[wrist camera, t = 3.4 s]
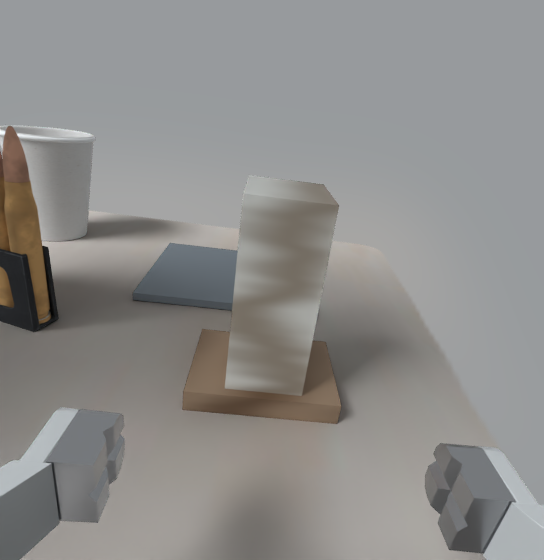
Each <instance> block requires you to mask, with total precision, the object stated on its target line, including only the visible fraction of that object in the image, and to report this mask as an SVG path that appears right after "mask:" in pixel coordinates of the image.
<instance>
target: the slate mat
mask: <svg viewBox="0 0 544 560" xmlns="http://www.w3.org/2000/svg"><path fill="white" fill-rule="evenodd" d="M237 253H238V251H235V250H226V249H218V248H209V247H200V246H192V245H183V244H174V243H170V244H169V245H168V246H167V248H166V249H165V250H164V252H163V253H162V254H161V256H160V257H159V258H158V260H157V261H156V262H155V264H154V265H153V266H152V268H151V269H150V270H149V272H148V273H147V274H146V276H145V277H144V278H143V280H142V281H141V282H140V284H139V285H138V286H137V288H136V289H135V290H134V292H133V300H140V301H149V302H159V303H168V304H177V305H187V306H196V307H205V308H215V309H224V310H232V305H233V295H234V284H235V274H236V263H237Z"/></svg>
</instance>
